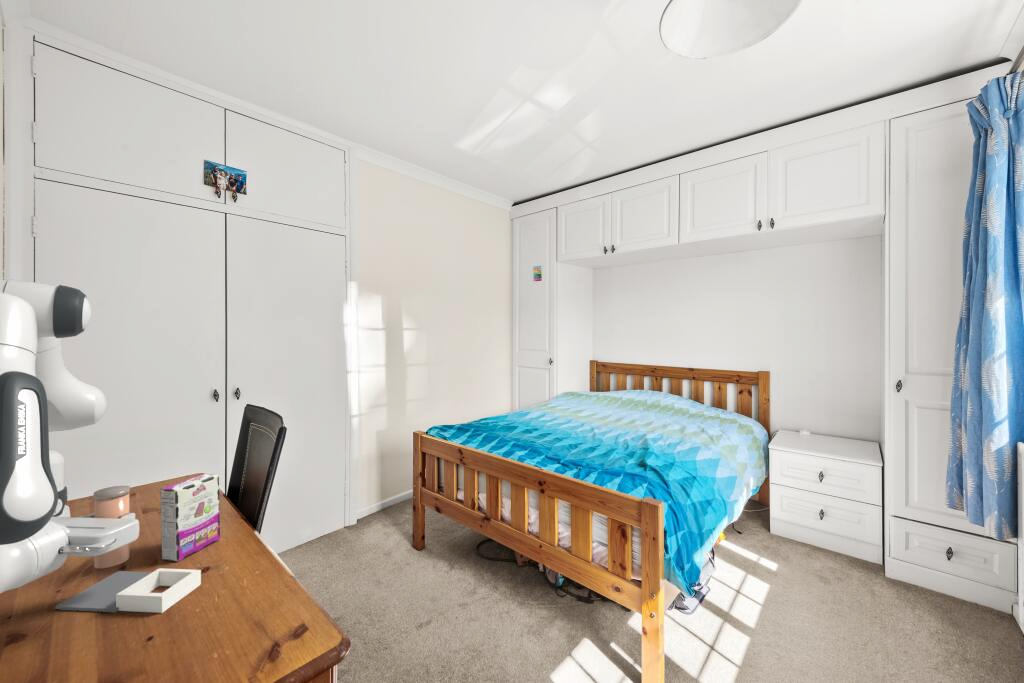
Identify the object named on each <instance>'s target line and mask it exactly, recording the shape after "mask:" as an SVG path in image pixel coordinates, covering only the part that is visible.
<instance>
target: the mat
mask: <svg viewBox="0 0 1024 683" xmlns="http://www.w3.org/2000/svg"><path fill="white" fill-rule="evenodd" d="M151 573H152V572H151V571H131V570H130V571H127V570H118V571H116V572H114V573H112V574H111V575H108V576H107V577H105V578H103V579H102V580H100V581H97V582H96V583H94V584H93V585H91V586H89V587H87V588H85V589H84V590H82V591H80V592H78V593H76V594H75V595H73V596H71V597H69V598H68V599H66V600H64V601H63V602H61V603H59V604H57V605H55V606H54V609H59V610H61V611H77V610H78V612H98V611H99V612H100V613H117V612H120V611H119V608H118V607H116V594H118V593H119V592H121V591H123V590H124V589H126V588H128V587H129V586H131V585H133V584H134V583H136V582H137V581H139V580H141V579H142V578H144V577H146V576H147V575H149V574H151ZM59 610H58V611H59ZM101 611H102V612H101ZM99 612H98V613H99Z"/></svg>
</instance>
